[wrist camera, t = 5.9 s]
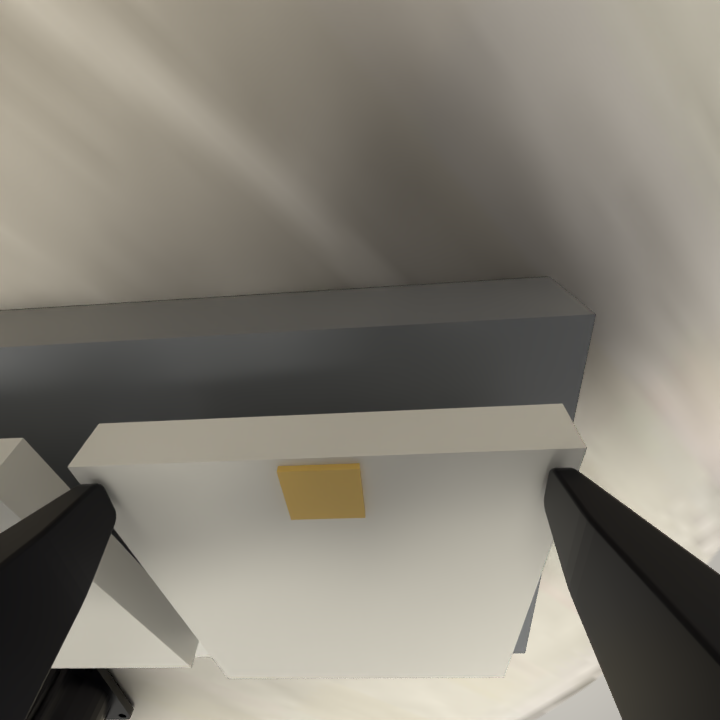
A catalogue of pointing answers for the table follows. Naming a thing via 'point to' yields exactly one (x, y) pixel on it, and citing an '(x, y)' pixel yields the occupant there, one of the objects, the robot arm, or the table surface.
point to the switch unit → (288, 359)
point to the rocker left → (99, 584)
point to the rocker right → (342, 533)
